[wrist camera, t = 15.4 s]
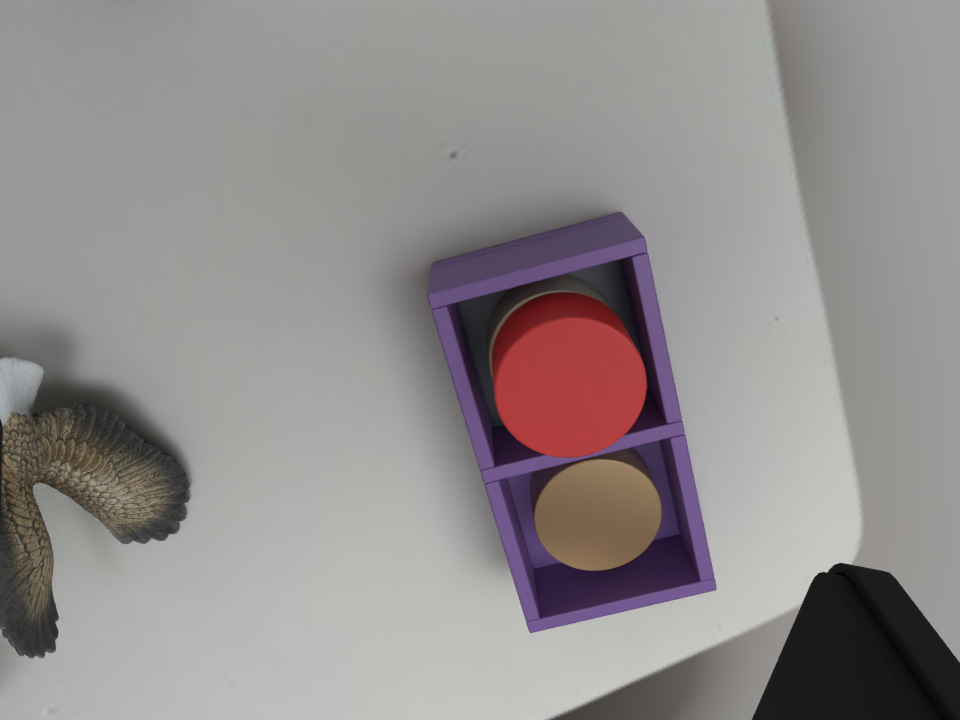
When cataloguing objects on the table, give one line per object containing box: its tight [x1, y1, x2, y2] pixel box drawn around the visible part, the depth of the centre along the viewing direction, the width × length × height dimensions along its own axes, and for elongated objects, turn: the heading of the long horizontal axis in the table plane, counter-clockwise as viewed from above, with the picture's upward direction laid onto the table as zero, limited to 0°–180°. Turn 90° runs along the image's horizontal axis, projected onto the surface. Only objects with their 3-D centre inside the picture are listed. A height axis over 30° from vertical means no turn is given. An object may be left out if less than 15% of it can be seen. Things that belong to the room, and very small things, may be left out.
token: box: [530, 447, 662, 571], centre depth 30 cm, size 4×4×2 cm
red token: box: [492, 292, 647, 458], centre depth 26 cm, size 4×4×3 cm
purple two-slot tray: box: [427, 212, 716, 633], centre depth 29 cm, size 13×7×4 cm, turn 15°
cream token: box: [487, 275, 613, 380], centre depth 28 cm, size 4×4×2 cm
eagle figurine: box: [0, 356, 190, 658], centre depth 28 cm, size 8×7×9 cm
